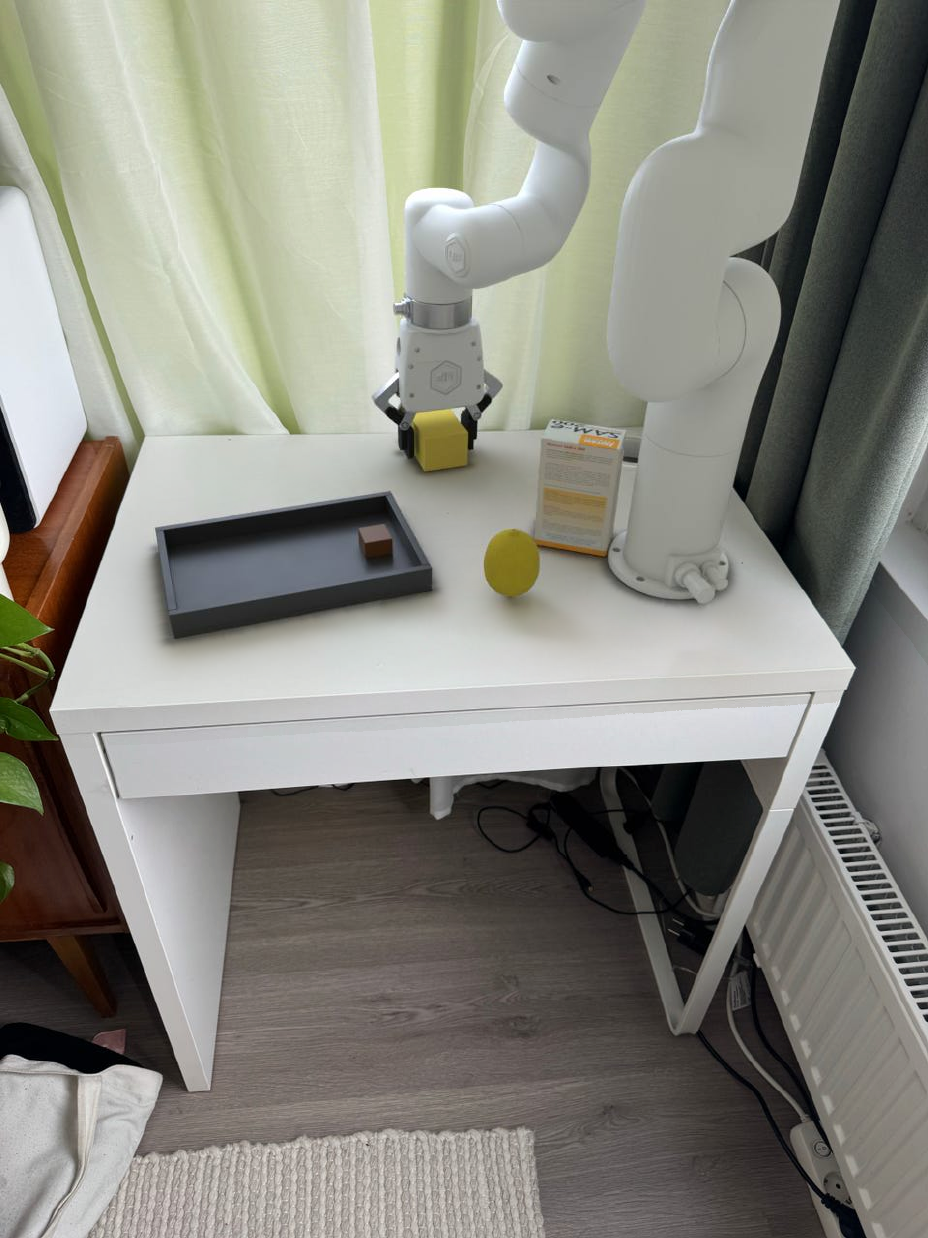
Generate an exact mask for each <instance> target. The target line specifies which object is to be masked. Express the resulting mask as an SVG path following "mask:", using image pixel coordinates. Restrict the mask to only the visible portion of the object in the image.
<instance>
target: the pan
mask: <svg viewBox="0 0 928 1238" xmlns="http://www.w3.org/2000/svg"><path fill="white" fill-rule="evenodd" d="M381 524H385V525H386V527H387V529H388V531H389V533H390V535H391V537H392V539H393V554H389V555H383V556H378V557H372V558H365V556H364V554H363V551H362V549H361V547H360V545H359V539H358V528H363V527H369V526H375V525H381ZM154 531H155V535H156V543H157V549H158V555H159V561H160V567H161V575H162V581H163V588H164V594H165V600H166V607H167V612H168V619H169V622H170V627H171V631H172V635H173V639H179V638H185V637H190V636H196V635H202V634H206V633H212V632H217V631H218V632H219V631H222V630H228V629H229V630H230V629H233V628H238V627H244V626H249V625H250V626H251V625H255V624H260V623H267V622H271V621H275V620H281V619H287V618H292V617H297V616H302V615H307V614H313V613H319V612H323V611H324V612H325V611H329V610H335V609H340V608H345V607H350V606H356V605H362V604H366V603H371V602H373V603H374V602H378V601H383V600H388V599H389V600H390V599H394V598H398V597H399V598H400V597H403V596H410V595H416V594H421V593H427V592H431V591H433V567H432V565H431V563H430V562H429V559H428V558H427V556H426V554H425V552H424V551H423V549H422V547H421V545H420V543H419V541H418V540H417V537H416V535H415V533H414V531H413V529H412V527H410V525H409V523H408V521H407V519H406V517H405V515H404V513H403V512H402V509H401V508H400V506H399V504H398V503H397V500H396V498H395V496H394V495H393V493H392V491H391V490H389V491H382V492H376V493H368V494H363V495H356V496H349V497H343V498H342V497H341V498H337V499H330V500H323V501H317V502H311V503H305V504H298V505H292V506H285V507H284V506H283V507H279V508H271V509H265V510H260V511H259V510H258V511H252V512H245V513H240V514H239V513H238V514H233V515H227V516H220V517H213V518H207V519H201V520H194V521H190V522H189V521H188V522H182V523H174V524H169V525H162V526H156V527H154Z"/></svg>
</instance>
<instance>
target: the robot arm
mask: <svg viewBox="0 0 928 1238" xmlns="http://www.w3.org/2000/svg"><path fill="white" fill-rule="evenodd" d="M648 2H649V0H496V5H497V9H498V12H499V14H500V16H501V19H502V20H503V22H504V23H505V25H506V27H507V28H508V30H510V31H511V32H512V33H513V34H514V35H515V36H516V37H518V38H520V39H522V42H521V45H520V48H519V51H518V53H517V56H516V58H515V61H514V64H513V66H512V70H511V72H510V74H509V76H508V79H507V82H506V85H505V87H504V91H503V103H504V107H505V110H506V112H507V114H508V115H509V117H510V119H512V120H513V123H515V124H516V125H517V127H519V128H520V130H522V131H523V132H525V133H526V134H527V135H529V136H531V137H532V138H534V139H535V140H536V142H535V143H536V144H535V151H534V155H533V159H532V161H531V165H530V167H529V169H528V172H527V174H526V177H525V179H524V181H523V184H522V186H521V188H520V190H519V192H518V194H517V195H516V196H512V197H509V198H504V199H501V200H498V201H494V202H490V203H487V204H485V205H481V206H476V207H475V204H474V201H473V200H472V198H471V197H470V196H469V195H468V194H467V193H466V192H464V191H461V190H458V189H453V188H447V187H429V188H423V189H419V190H416V191H414V192H411V194H410V195H409V196H408V197H407V199H406V200H405V204H404V210H403V211H404V213H403V215H404V216H403V217H404V221H403V223H404V276H405V277H404V279H405V280H404V282H405V292H403V298H402V300H399V302H394V303H393V306H392V310H393V314H394V316H401V317H404V318H402V319H401V320H400V323H399V327H398V333H397V340H396V346H395V357H394V374H393V375H392V376H391V377H390V378H389V379H388V380H386V382H385V383H384V384H383V385H381V387H380V388H379V389H377V390H376V391H375V392H374V393H373V394H372V396H371V400H372V402H373V403H374V405H375V406H376V407H377V408H378V409H379V410H380V411H381V412H382V413H383V414H384V415H385V416H386V417H387V418H388V419H389V420H390V421H392V422H393V423H394V424H395V425H397V443H398V448H399V450H400V451H403V452H404V454H405V456H406V457H407V459H408V460H411V459H412V460H413V459H414V458H415V455H414V429H413V428H412V426H411V423H412V421H413V419H414V417H415V415H416V413H422V412H430V411H438V410H446V409H451V410H453V409H460V408H464V410H462V411H461V413H460V423H461V424H462V425H463V427H464V428H465V429H466V431H467V432H468V449H467V451H473V450H474V448H475V441H476V440H477V439H478V422H479V420H481V418H482V415H483V413H484V412H485V411H486V410H487V408H488V407H490V405H491V404H492V402H493V399H495V398H496V397H497V395H498V394H499V393H500V391H501V390H502V389H503V387H504V385H503V383H502V382H501V381H500V379H499V378H497V377H496V376H494V375H493V373H491V372H489V371H488V370H487V369H486V368H485V366H484V350H483V342H482V332H481V326H480V321H479V319H477V317H475V316H474V315H473V290H479V289H485V288H489V287H491V286H493V285H497V284H499V283H503V282H506V281H508V280H510V279H511V278H515V277H517V276H520V275H523V274H527V273H529V272H532V271H535V270H538V269H540V268H542V267H545V265H547V264H548V263H550V262H551V261H553V259H554V258H555V257H556V256H557V255H558V253H559V252H560V251H561V249H562V248H563V246H564V244H565V243H566V241H567V239H568V238H569V236H570V234H571V232H572V230H573V228H574V225H575V224H576V221H577V220H578V217H579V215H580V213H581V211H582V209H583V207H584V204H585V202H586V199H587V197H588V196H587V195H588V193H589V189H590V183H591V177H592V176H591V173H592V147H591V141H590V131H591V128H592V126H593V124H594V121H595V119H596V117H597V114H598V112H599V110H600V108H601V106H602V103H603V101H604V100H605V97H606V95H607V93H608V90H609V88H610V86H611V84H612V81H613V79H614V77H615V75H616V72H617V71H618V68H619V66H620V64H621V62H622V59H623V57H624V55H625V53H626V51H627V49H628V47H629V44H630V43H631V40H632V38H633V35H634V33H635V31H636V29H637V28H638V25H639V22H640V20H641V18H642V16H643V13H644V12H645V9H646V8H647V7H646V6H647V4H648ZM840 4H841V0H730V2H729V5H728V8H727V10H726V12H725V14H724V16H723V18H722V21H721V23H720V25H719V28H718V29H717V32H716V35H715V38H714V40H713V44H712V47H711V49H710V53H709V58H708V62H707V67H706V74H705V84H704V90H703V95H702V100H701V104H700V110H699V115H698V118H697V123H696V125H695V128H694V131H693V132H691V133H688V134H684V135H681V136H678V137H675V138H673V139H670V140H668V141H666V142H665V143H663V144H661V145H659V146H658V147H656V148H655V149H654V150H653V151H651V153H650V154H648V155H647V156H646V157H645V159H644V160H643V161H642V162H641V163H640V165H639V166H638V168H637V169H636V171H635V172H634V174H633V176H632V178H631V181H630V182H629V185H628V187H627V190H626V192H625V195H624V199H623V202H622V207H621V211H620V217H619V224H618V231H617V238H616V247H615V255H614V263H613V271H612V279H611V280H612V281H611V288H610V297H609V306H608V313H607V323H606V346H607V355H608V359H609V363H610V366H611V370H612V372H613V373H614V376H615V378H616V380H617V381H618V382H619V384H620V386H621V387H622V388H623V389H624V390H625V391H626V392H627V393H628V394H630V395H631V396H632V397H634V398H636V399H638V400H639V401H640V400H641V401H643V402H646V403H647V404H646V410H645V416H644V420H643V421H644V422H643V427H642V433H641V437H640V444H639V450H638V451H639V452H638V457H637V464H636V471H635V475H634V476H635V477H634V484H633V489H632V495H631V503H630V507H629V508H630V509H629V514H628V522H627V527H626V529H625V530H624V531H622V532H620V533H619V534H617V535H616V536H615V537H614V538H612V540H611V541H610V545H609V549H608V552H607V562H608V566H609V568H610V570H611V571H612V574H613V575H614V576H616V577H617V579H618V580H619V581H621V582H622V583H623V584H625V585H626V586H628V587H629V588H631V589H633V590H635V591H637V592H640V593H642V594H645V595H648V596H650V597H656V598H660V599H667V600H692V599H695V600H696V601H697V603H699V604H701V605H704V604H709V603H710V602H711V601H712V600H713V599H714V598H715V595H716V591H722V590H725V589H726V588H727V587H728V585H729V580H728V579H727V577H728V573H729V570H730V569H729V568H730V564H729V559H728V557H727V555H726V552H725V551H724V550H723V548H721V546H719V545H720V541H721V536H722V532H723V528H724V524H725V520H726V516H727V512H728V507H729V503H730V499H731V495H732V490H733V486H734V482H735V477H736V473H737V471H738V465H739V461H740V456H741V452H742V449H743V444H744V441H745V437H746V434H747V429H748V426H749V425H748V424H749V420H750V417H751V413H752V409H753V406H754V403H755V399H756V396H757V393H758V390H759V386H760V383H761V381H762V378H763V376H764V373H765V371H766V368H767V366H768V363H769V361H770V358H771V356H772V353H773V350H774V349H775V348H774V347H775V345H776V341H777V339H778V335H779V331H780V326H781V319H782V305H781V303H782V302H781V297H780V293H779V291H778V287H777V286H776V283H775V281H774V280H773V278H772V277H771V275H770V274H769V273H768V272H767V271H766V270H765V269H764V268H763V267H762V266H760V265H759V264H758V263H755V262H753V261H752V260H748V259H746V258H741V257H734V256H735V255H737V254H739V253H742V252H744V251H746V250H749V249H751V248H753V247H755V246H758V245H759V244H761V243H763V242H765V241H766V240H767V239H769V238H770V237H772V236H773V235H775V234H776V233H778V232H779V230H780V229H781V228H782V226H784V224H785V223H786V221H787V220H788V218H789V216H790V214H791V211H792V209H793V207H794V203H795V200H796V196H797V191H798V187H799V183H800V179H801V173H802V169H803V165H804V160H805V155H806V151H807V147H808V142H809V138H810V133H811V129H812V124H813V120H814V116H815V111H816V107H817V102H818V98H819V93H820V87H821V82H822V76H823V72H824V69H825V62H826V58H827V55H828V51H829V47H830V42H831V40H832V39H831V38H832V34H833V30H834V26H835V23H836V20H837V16H838V11H839V7H840ZM732 256H733V257H732ZM394 395H395V396H396V397H397V398H399V399H400V402H399V404H398V407H395V406H394V405H393V404H392V403H390V402H389V400H390V399H391V398H392V397H393V396H394Z"/></svg>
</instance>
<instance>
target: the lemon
mask: <svg viewBox="0 0 928 1238" xmlns="http://www.w3.org/2000/svg"><path fill="white" fill-rule="evenodd" d="M539 551H540V550H539V548H538V545H536V543H535V541H534V538H533V537H532V536H531V535H530V534H528V533H527V532H526V531H525V530H522V529H518V528H508V529H504V530H501V531H499V532H498V533H496V534H495V535H494V536H493V537H492V538H491V539H490V541H489V542H488V544H487V546H486V550H485V552H484V553H485V554H484V558H483V572H484V577H485V580H486V582H487V584H488V585H489V587H490V588H491V589H492V590H493V591H494V592H496V593H497V594H499V595H500V596H504V597H508V598H514V597H518V596H522V595H524V594H526V593H527V592H528V591H530V590H531V588H532V587H533V586H535V583H536V581H537V579H538V577H539V574H540V567H541V564H540V563H541V558H540V552H539Z"/></svg>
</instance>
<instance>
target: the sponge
mask: <svg viewBox="0 0 928 1238" xmlns="http://www.w3.org/2000/svg"><path fill="white" fill-rule="evenodd" d="M411 426H412V428H413V429H414V458H416V460H417V462H418V463H419V466H421V468H422V470H423V472H432V471H438V470H439V471H440V470H445V469H453V468H460V467H466V466H468V432H467V431H466V429H465V428H464V427H463V425H462V424H461V420H459V419H458V417H457V416H456V414H455V413H454V411H453V409H446V410H438V411H430V412H422V413H416V415H415V417H414V419H413V421H412V423H411Z"/></svg>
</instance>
